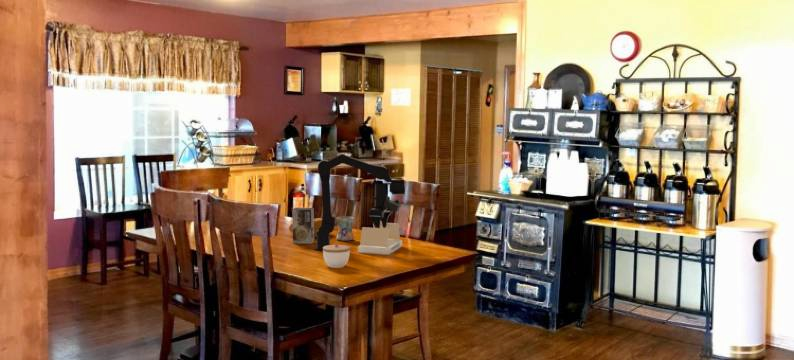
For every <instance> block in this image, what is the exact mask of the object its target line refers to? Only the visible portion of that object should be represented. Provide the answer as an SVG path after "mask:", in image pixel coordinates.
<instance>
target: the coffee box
mask: <svg viewBox="0 0 794 360" xmlns="http://www.w3.org/2000/svg"><path fill="white" fill-rule="evenodd" d="M291 211H292V223H293V233H292V244H299V245H300V244H303V245H304V244H306V245H307V244H308V245H309V244H310V245H312V244H313V243H314V242H315V237H314V219H315V208H314V207H294V208H293V209H292V210H291Z"/></svg>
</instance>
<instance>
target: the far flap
mask: <svg viewBox="0 0 794 360" xmlns="http://www.w3.org/2000/svg"><path fill="white" fill-rule="evenodd" d="M372 226H373V227H372V228H375V226H374V224H373V223H372ZM399 226H400V225H399V223H396V222H395V223H394V222H387V224H386V229H389V231H388V239H393V240H401V236H400V235H401V234H400V227H399ZM380 228H383V226H382V222H381V223H380Z"/></svg>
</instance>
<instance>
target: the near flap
mask: <svg viewBox="0 0 794 360" xmlns="http://www.w3.org/2000/svg"><path fill="white" fill-rule="evenodd" d="M388 231H389V229H386V228H374V227H369V226H367V227H365V226H363V227H361V235H360V241H359V244H360V245H363V246H377V247H387V240H388Z"/></svg>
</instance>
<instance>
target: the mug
mask: <svg viewBox="0 0 794 360" xmlns="http://www.w3.org/2000/svg"><path fill="white" fill-rule="evenodd" d="M355 219H356V217H354V216H335V222H336V226H337V234H336V235H337V236H336V240H339V241H341V242H342V241H343V242H347V241H352V240H354V239H355V237H354V235H353V225H354V222H355Z"/></svg>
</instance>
